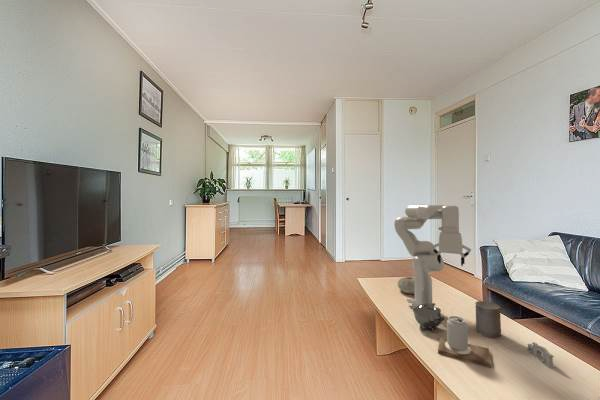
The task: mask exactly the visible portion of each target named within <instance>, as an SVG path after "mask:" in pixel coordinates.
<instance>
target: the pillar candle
mask: <svg viewBox="0 0 600 400" xmlns="http://www.w3.org/2000/svg"><path fill="white" fill-rule="evenodd" d="M501 320H502V319H501V307H500V305H499V304H497V303H495V302H491V301H487V300H486V301H485V300H478V301H476V302H475V326H476V327H475V330H476V332H477V333H478V334H480V335H482V336H485V337H487V338H492V339H499V338H500V337H502V327H501V326H502V325H501V323H502V321H501Z"/></svg>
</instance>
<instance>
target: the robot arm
mask: <svg viewBox="0 0 600 400" xmlns="http://www.w3.org/2000/svg"><path fill="white" fill-rule="evenodd" d="M404 212H405V215H406V216H399V217H397V218H396V219H395V220H394V224H393V225H394V231H395V232H396V234H397V235H398V237H399V238H400V239H401V241H402V242H403V244H404V246H405V248H406V250H407V253H408V254H409V255H410V256H411V257H413V258H412V261H411V263H412V268H413V276H414V287H415V294H414V298H409V297H408V298H406V302H408V304H411V307H412V309H413V308H415V307H416V306H417V305H419V304H431V303H433V279H432V277H431V275H430V274H429V272H440V271H443V270H444V268H445V261H444V259H443V256H442V255H441V254H442V253H444V254H455V255H460V265H461V267H463V266H464V265H465V258H466V257H467V256H469V254H470V253H471V251H472V248H470V247H468V246H466V245H464V244H463V237H462V234H461V232H460V213H459V212H460V211H459V207H458V205H449V204H448V205H447V204H429V205H428V204H411V205H408V206H407V207H405V209H404ZM428 220H441V226H439V227H438V230H439V231H441V232H439V235H438V236H439V237H438V243H435V244H434V243H432V242H431V241H429V240H418V238H417V236H416V235H415V234H414V233H413V232H412V231H410V230H420V229H422V227H423V226H424V224H425V223H426V222H427V221H428ZM437 247H438V249H437ZM463 249H464V250H466V252H463Z"/></svg>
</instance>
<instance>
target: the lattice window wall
mask: <svg viewBox="0 0 600 400" xmlns="http://www.w3.org/2000/svg"><path fill="white" fill-rule="evenodd" d="M531 343H532V344H531ZM531 343H527V351H528V352H529V353H530V354H531V355H533V356H534V357H535V358H536V359H537V360H538V361H539V362H540V363H543V364H544V365H545V366H546V367H548V369H553V368H554V363H553V362H554V361H553V360H554V359H553V358H555V355H553V354H551V353H550V352H549V351H548V349H546V347H544V346H542V345H539V344H538V342H535V341H533V342H531Z"/></svg>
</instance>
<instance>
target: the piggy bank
mask: <svg viewBox="0 0 600 400" xmlns="http://www.w3.org/2000/svg"><path fill="white" fill-rule="evenodd" d="M412 312H413V315H414V319H415V321H416V322H417V323H418V324H419V325H420V326H421V327H422V330H424V331H426V330H427V329H428V328H431V330H432V331H436V330H437V327H438V326H440V325H441V324H442V323H443V322H444V321H445V316H444V315H443V314H442V313H441V312H442V309H441V308H440V307H436V303H434V302H432V303H431V304H419V305H417V306H416V307H415V308H412Z"/></svg>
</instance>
